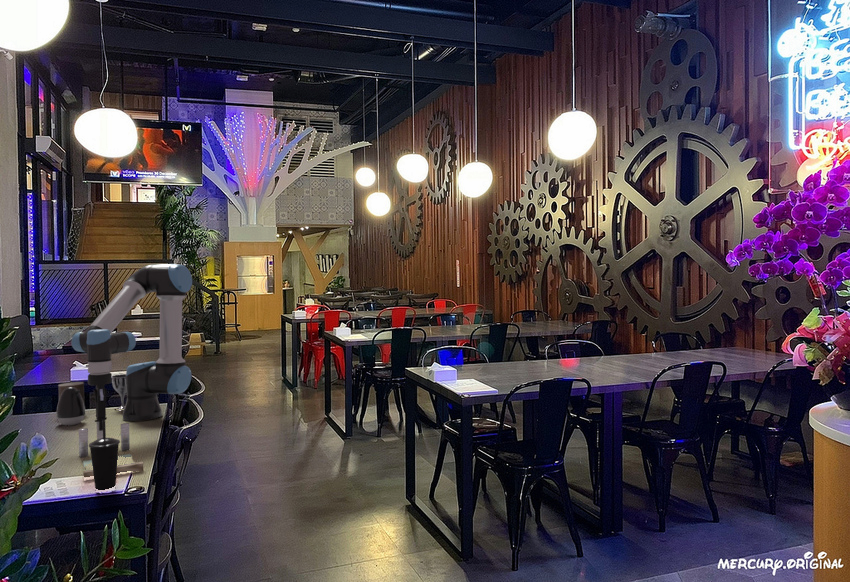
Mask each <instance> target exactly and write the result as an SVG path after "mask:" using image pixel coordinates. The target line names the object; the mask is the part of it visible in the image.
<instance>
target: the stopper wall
mask: <svg viewBox="0 0 850 582" xmlns="http://www.w3.org/2000/svg"><path fill="white" fill-rule="evenodd" d="M127 471H133V472H136V471H143V472H144V462H143V461H138V462H135V463H131V464H124V465H118V466H117V473H120V472H127ZM82 472H83V475H82V477H83V476H84V477H90V476H94V474H93V470H86V471H85V470H83V471H82Z"/></svg>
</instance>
